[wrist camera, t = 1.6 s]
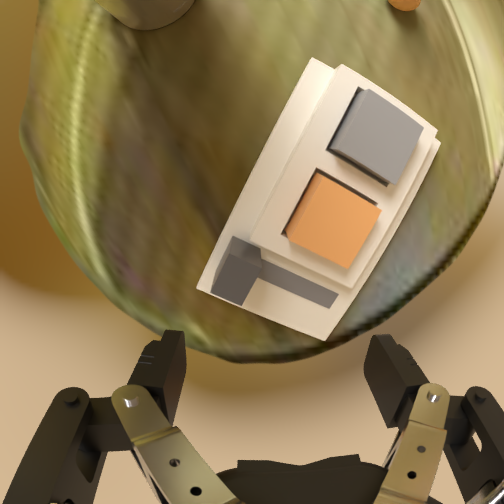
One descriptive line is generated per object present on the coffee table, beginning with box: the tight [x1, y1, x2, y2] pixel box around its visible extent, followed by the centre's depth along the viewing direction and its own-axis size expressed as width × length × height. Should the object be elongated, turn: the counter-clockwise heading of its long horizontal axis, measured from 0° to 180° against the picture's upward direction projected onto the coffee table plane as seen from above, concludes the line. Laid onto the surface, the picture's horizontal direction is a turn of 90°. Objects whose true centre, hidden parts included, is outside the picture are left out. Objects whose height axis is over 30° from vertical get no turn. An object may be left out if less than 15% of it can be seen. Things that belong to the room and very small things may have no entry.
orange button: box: [285, 173, 382, 269], centre depth 27 cm, size 6×6×3 cm
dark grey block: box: [210, 236, 262, 306], centre depth 29 cm, size 3×4×5 cm
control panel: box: [197, 58, 441, 341], centre depth 29 cm, size 16×26×4 cm, turn 154°
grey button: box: [329, 89, 424, 185], centre depth 24 cm, size 6×6×3 cm
